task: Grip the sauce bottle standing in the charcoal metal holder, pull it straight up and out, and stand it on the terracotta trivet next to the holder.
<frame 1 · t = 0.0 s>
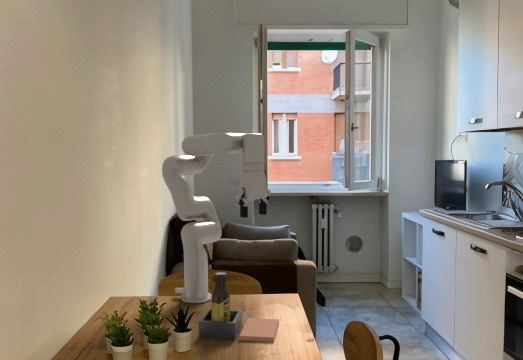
hand: (253, 215, 171), 37 cm above the table, tool pointing down, fingers open, 9 cm apart
trivet: (260, 331, 160), on the table
sauce bottle: (221, 332, 160), resting in bottle holder
bottle holder: (221, 331, 160), on the table
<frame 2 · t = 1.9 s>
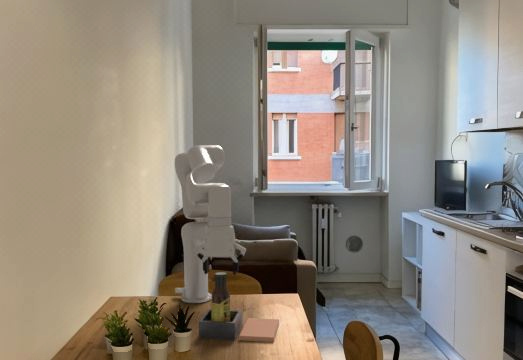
hand: (220, 273, 158), 20 cm above the table, tool pointing down, fingers open, 9 cm apart
nothing on the table moved.
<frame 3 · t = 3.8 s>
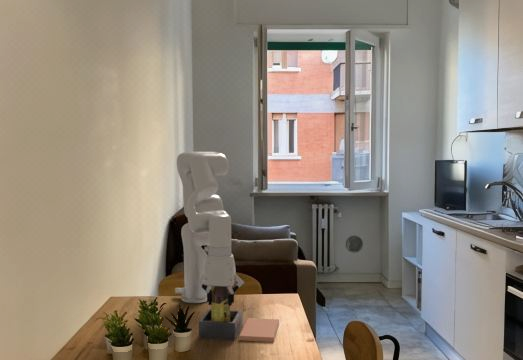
hand: (220, 303, 160), 10 cm above the table, tool pointing down, fingers closed on sauce bottle, 6 cm apart
sauce bottle: (221, 332, 160), resting in bottle holder, touching gripper
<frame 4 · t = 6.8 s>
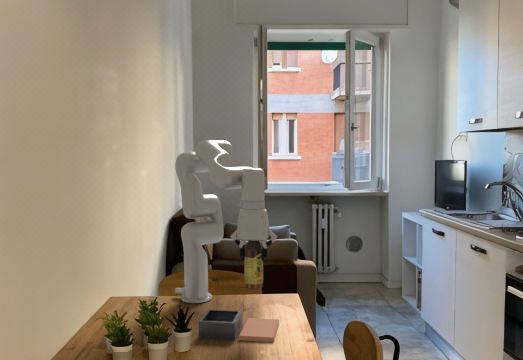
hand: (253, 258, 159), 25 cm above the table, tool pointing down, fingers closed on sauce bottle, 6 cm apart
sauce bottle: (253, 288, 159), point 15 cm above the table, touching gripper
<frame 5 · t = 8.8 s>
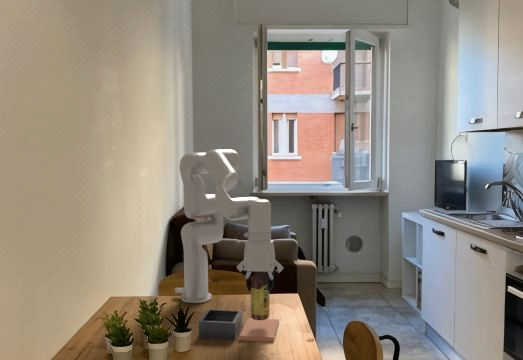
hand: (260, 289, 159), 14 cm above the table, tool pointing down, fingers closed on sauce bottle, 6 cm apart
sauce bottle: (260, 318, 160), point 5 cm above the table, touching gripper
when the fingers open (12 cm above the table, at t = 10.1 s): sauce bottle drops 1 cm, resting on trivet.
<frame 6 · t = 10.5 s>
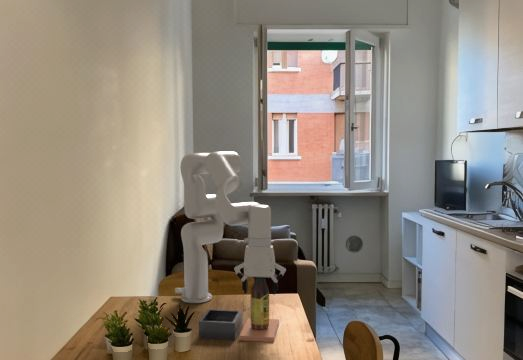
hand: (260, 292, 160), 13 cm above the table, tool pointing down, fingers open, 9 cm apart
sauce bottle: (260, 327, 160), point 1 cm above the table, touching trivet
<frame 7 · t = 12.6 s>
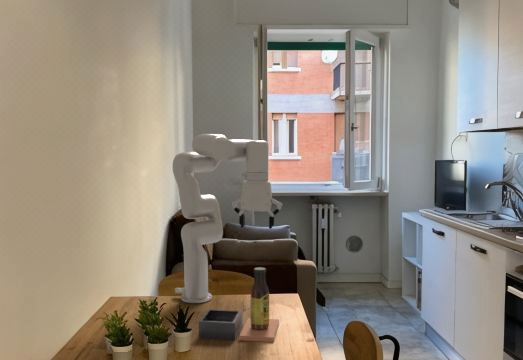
hand: (256, 227, 162), 35 cm above the table, tool pointing down, fingers open, 9 cm apart
nothing on the table moved.
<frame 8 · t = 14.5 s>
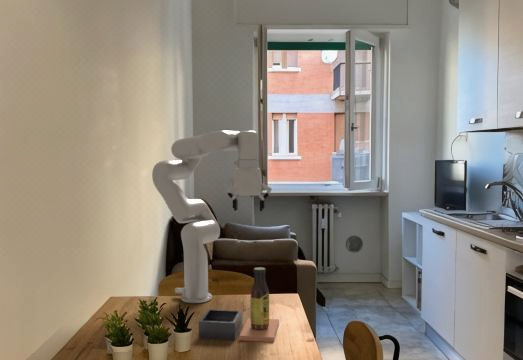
hand: (248, 210, 178), 38 cm above the table, tool pointing down, fingers open, 9 cm apart
nothing on the table moved.
at the end: sauce bottle inside the target area on the trivet (0.1 cm from its centre), point 1.3 cm above the trivet's base; sauce bottle tilted 0°; the gripper is holding nothing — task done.
